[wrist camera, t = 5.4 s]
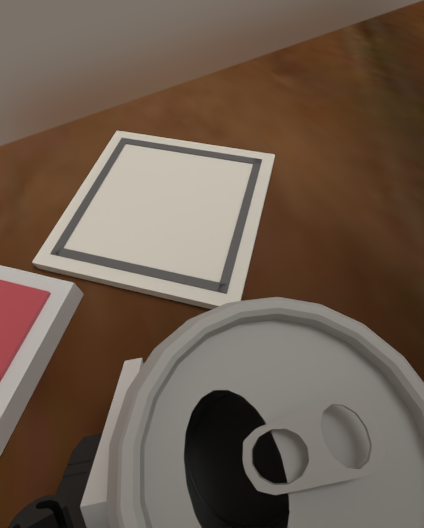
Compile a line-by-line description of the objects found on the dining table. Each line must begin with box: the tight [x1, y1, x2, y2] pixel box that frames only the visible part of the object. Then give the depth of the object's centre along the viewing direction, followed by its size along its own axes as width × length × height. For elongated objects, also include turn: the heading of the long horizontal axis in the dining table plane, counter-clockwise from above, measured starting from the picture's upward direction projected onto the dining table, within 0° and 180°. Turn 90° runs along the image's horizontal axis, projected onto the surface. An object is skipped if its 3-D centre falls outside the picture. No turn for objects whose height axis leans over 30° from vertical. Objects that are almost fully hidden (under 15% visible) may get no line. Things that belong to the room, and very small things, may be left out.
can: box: [106, 297, 424, 528], centre depth 11 cm, size 8×8×12 cm
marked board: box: [32, 131, 275, 309], centre depth 24 cm, size 14×14×1 cm
